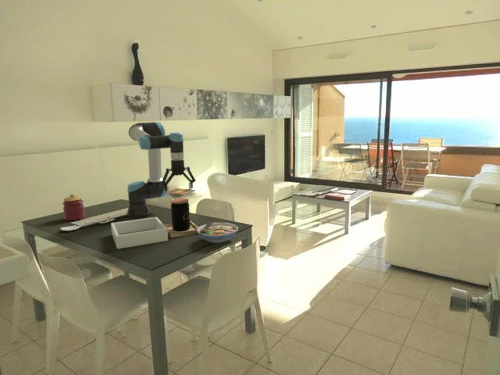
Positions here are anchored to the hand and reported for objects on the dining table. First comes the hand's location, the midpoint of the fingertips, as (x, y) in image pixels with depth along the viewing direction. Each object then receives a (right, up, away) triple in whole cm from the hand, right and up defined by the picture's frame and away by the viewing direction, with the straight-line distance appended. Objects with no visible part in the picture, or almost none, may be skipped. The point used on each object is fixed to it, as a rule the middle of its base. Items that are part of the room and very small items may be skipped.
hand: (179, 194), depth 217 cm
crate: (-22, -24, -6) cm, 34 cm away
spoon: (-62, -21, +17) cm, 67 cm away
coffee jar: (+1, -21, +4) cm, 21 cm away
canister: (-79, -17, +35) cm, 88 cm away
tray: (+1, -22, +4) cm, 22 cm away
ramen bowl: (+24, -26, -15) cm, 38 cm away
